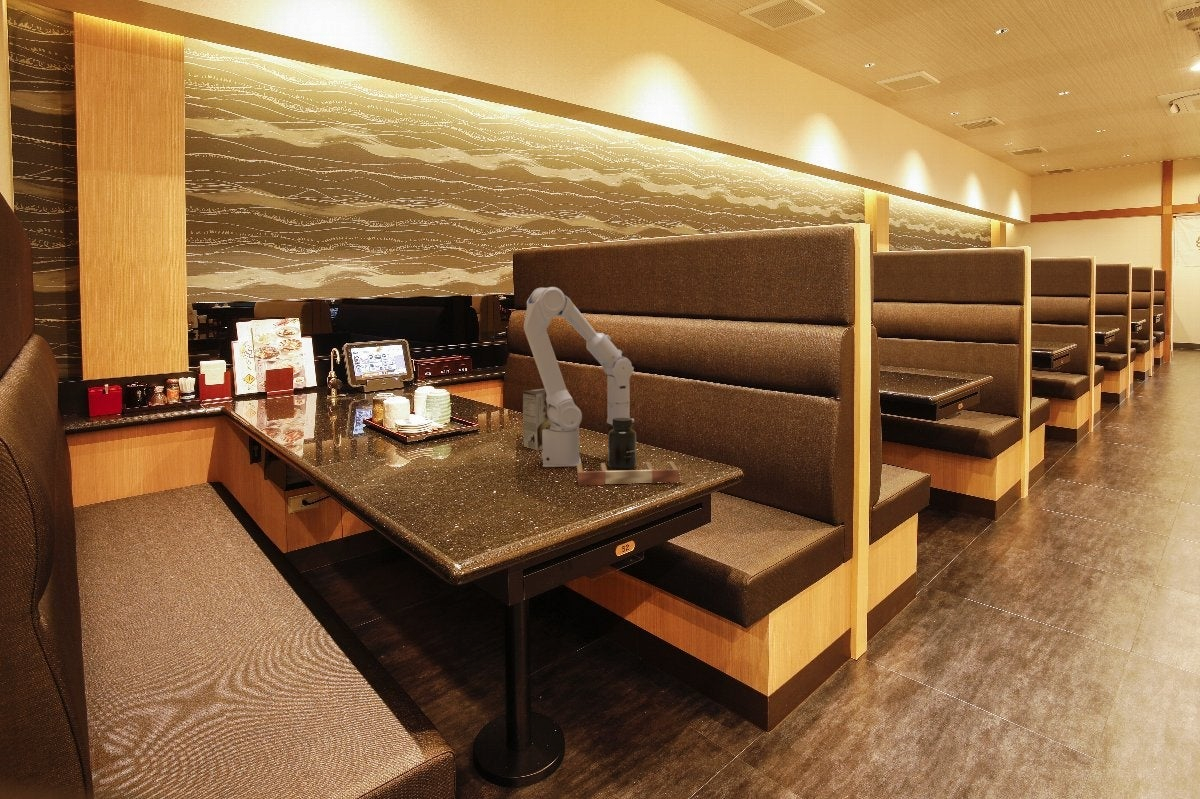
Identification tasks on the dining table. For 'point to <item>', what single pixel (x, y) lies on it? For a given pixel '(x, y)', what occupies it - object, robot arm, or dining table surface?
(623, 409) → the robot arm
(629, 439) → the supplement bottle
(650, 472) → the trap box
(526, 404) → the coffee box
